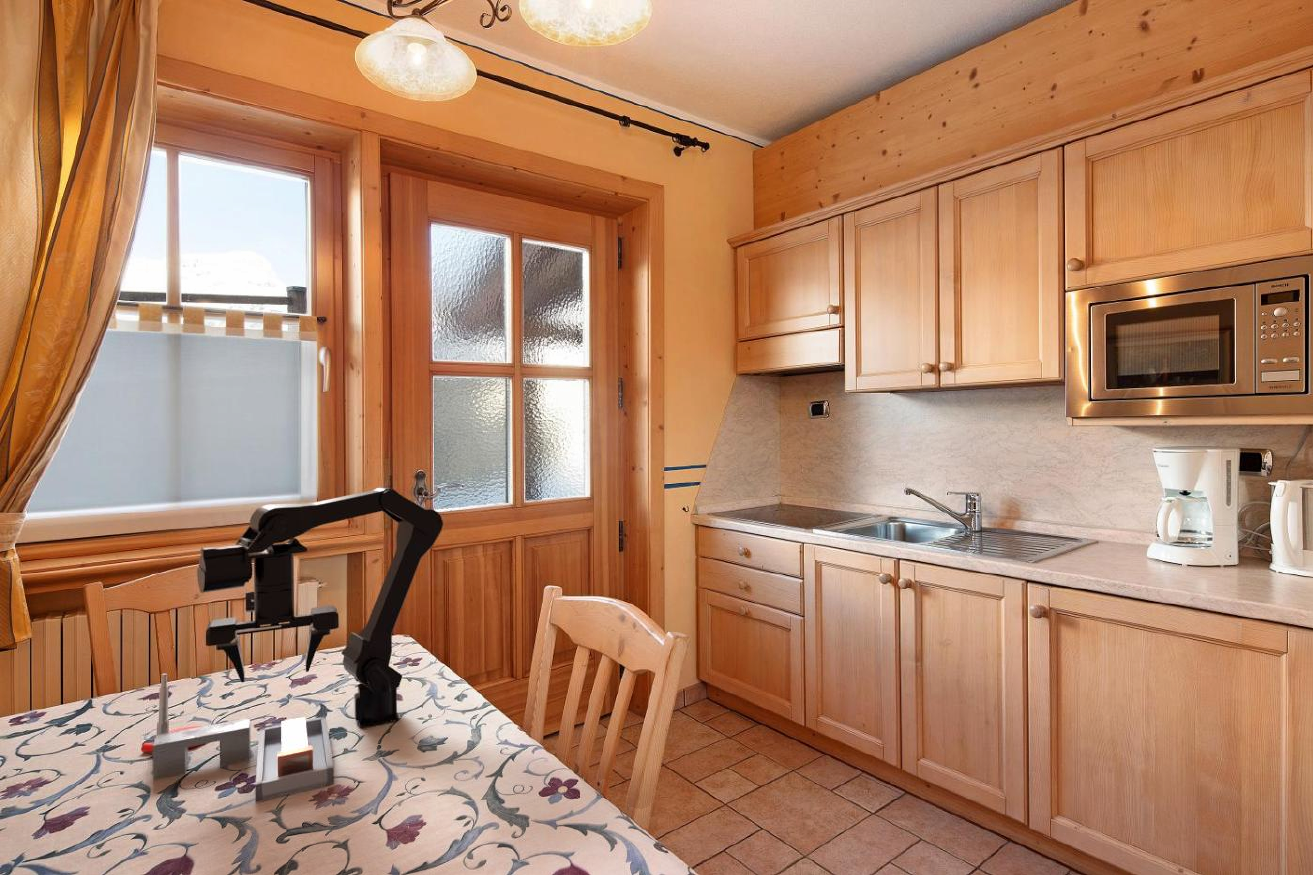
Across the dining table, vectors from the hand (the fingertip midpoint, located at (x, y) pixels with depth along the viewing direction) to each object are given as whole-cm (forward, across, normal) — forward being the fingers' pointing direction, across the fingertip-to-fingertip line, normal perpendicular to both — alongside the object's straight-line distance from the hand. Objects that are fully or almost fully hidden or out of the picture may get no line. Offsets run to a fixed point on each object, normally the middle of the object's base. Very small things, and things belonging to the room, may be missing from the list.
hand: (275, 676), depth 112 cm
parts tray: (+12, -2, +7) cm, 14 cm away
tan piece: (+11, -2, +7) cm, 14 cm away
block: (+12, +10, 0) cm, 16 cm away
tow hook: (+12, +14, -10) cm, 21 cm away
